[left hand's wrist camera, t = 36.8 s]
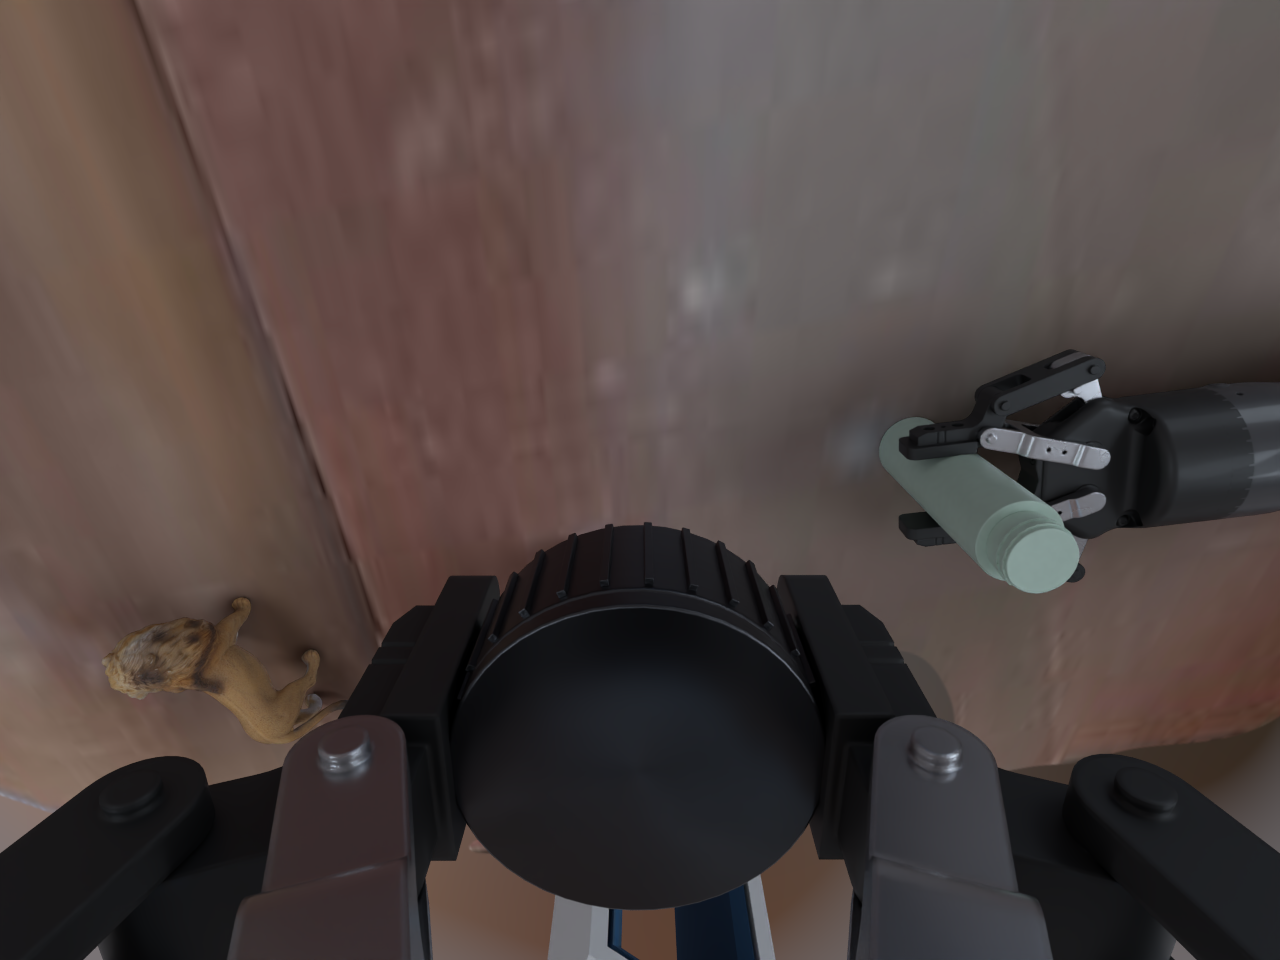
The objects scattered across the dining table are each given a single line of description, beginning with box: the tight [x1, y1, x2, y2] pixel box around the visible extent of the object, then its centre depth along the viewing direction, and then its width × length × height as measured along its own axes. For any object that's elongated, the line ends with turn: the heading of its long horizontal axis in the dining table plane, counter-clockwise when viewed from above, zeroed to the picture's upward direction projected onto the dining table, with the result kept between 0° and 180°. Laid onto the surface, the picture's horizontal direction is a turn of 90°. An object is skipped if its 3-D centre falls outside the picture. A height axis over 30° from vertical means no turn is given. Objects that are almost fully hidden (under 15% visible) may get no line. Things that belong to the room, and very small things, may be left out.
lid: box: [450, 522, 826, 910], centre depth 10 cm, size 5×5×2 cm
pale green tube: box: [879, 417, 1079, 593], centre depth 41 cm, size 4×4×16 cm
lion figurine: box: [102, 597, 348, 744], centre depth 49 cm, size 15×5×9 cm, turn 50°
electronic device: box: [548, 875, 775, 960], centre depth 38 cm, size 12×8×30 cm, turn 71°
